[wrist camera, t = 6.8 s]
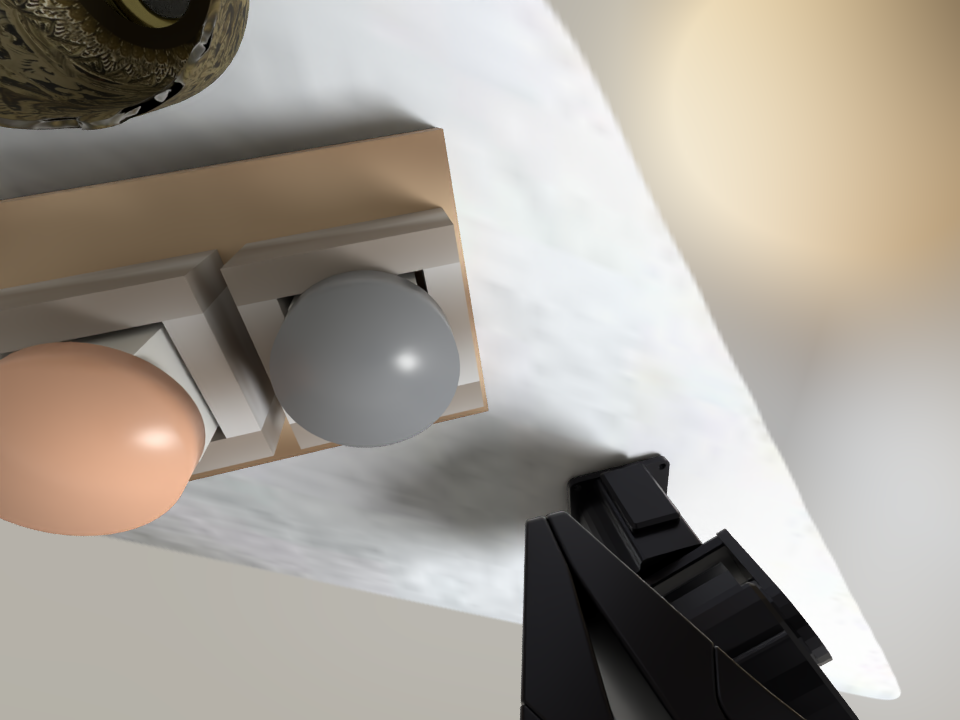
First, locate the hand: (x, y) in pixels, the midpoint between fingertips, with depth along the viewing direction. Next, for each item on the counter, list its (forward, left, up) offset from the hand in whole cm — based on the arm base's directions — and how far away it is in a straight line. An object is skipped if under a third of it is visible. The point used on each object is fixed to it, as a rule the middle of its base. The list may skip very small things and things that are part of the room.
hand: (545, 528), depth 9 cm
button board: (+1, +7, -13) cm, 15 cm away
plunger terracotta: (+1, +12, -10) cm, 15 cm away
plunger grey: (+1, +4, -11) cm, 11 cm away
